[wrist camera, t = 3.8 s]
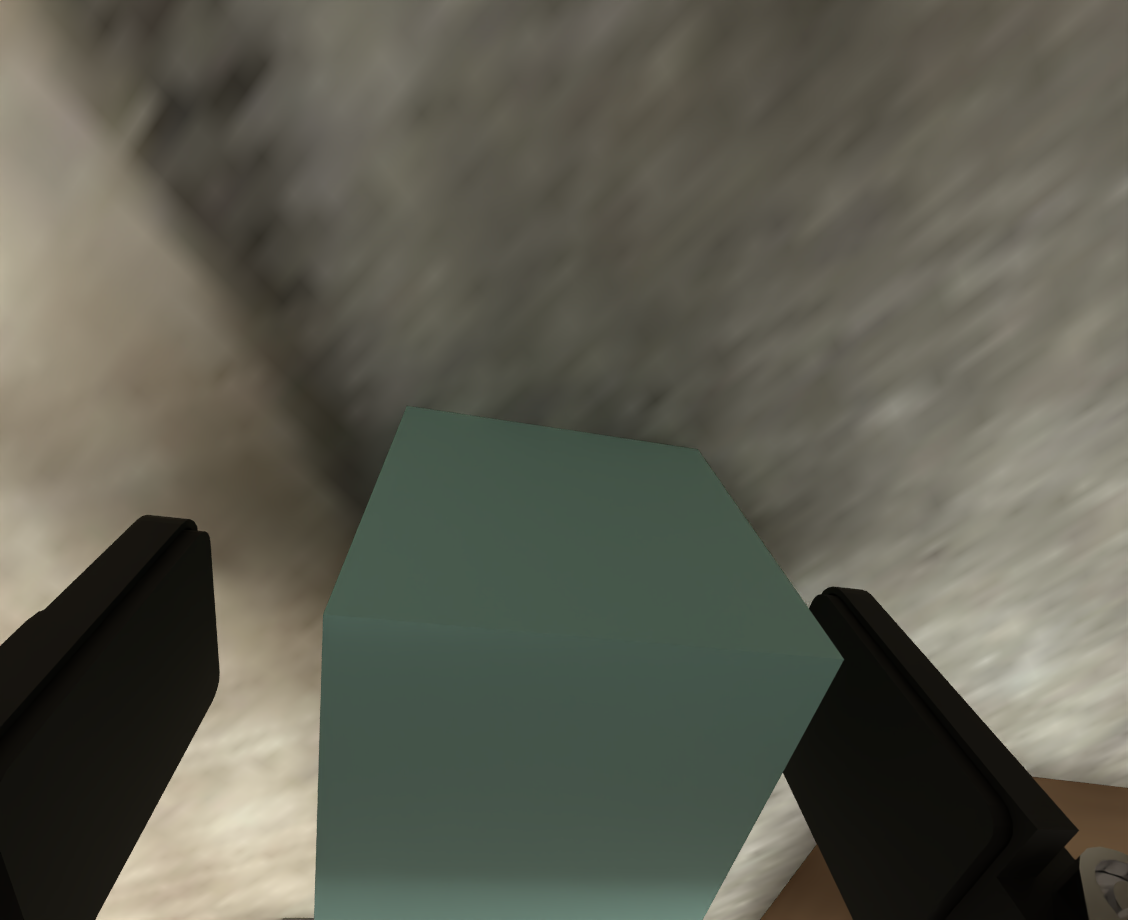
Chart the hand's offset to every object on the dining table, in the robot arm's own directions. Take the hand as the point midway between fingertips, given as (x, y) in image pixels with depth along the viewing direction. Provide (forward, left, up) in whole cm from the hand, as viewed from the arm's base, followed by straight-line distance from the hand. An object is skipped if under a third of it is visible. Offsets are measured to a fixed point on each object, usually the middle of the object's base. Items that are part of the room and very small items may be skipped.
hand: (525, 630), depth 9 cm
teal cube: (0, 0, -2) cm, 2 cm away
